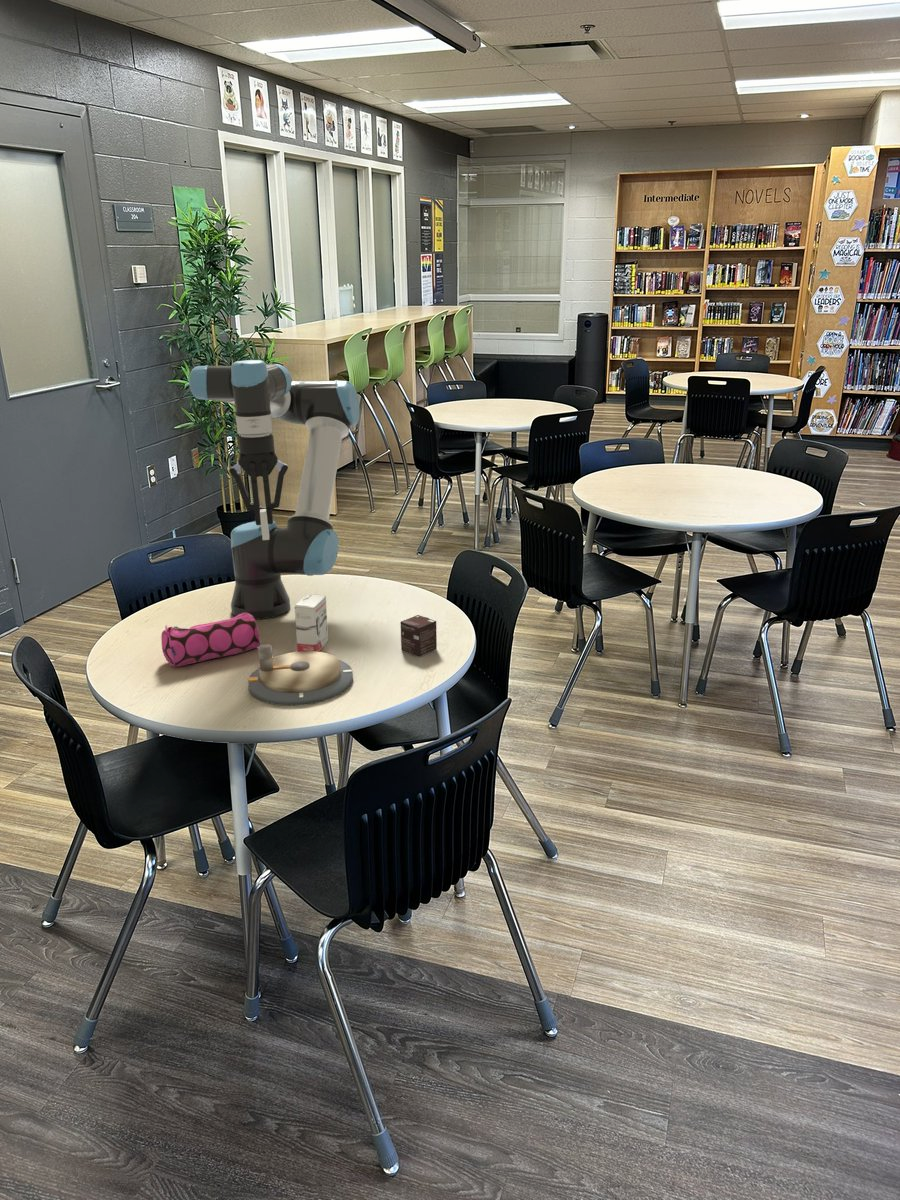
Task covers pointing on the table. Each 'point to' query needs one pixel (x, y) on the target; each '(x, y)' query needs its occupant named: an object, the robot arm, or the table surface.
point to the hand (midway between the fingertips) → (266, 538)
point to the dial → (297, 670)
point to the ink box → (311, 623)
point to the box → (418, 635)
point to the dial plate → (301, 697)
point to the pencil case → (210, 640)
